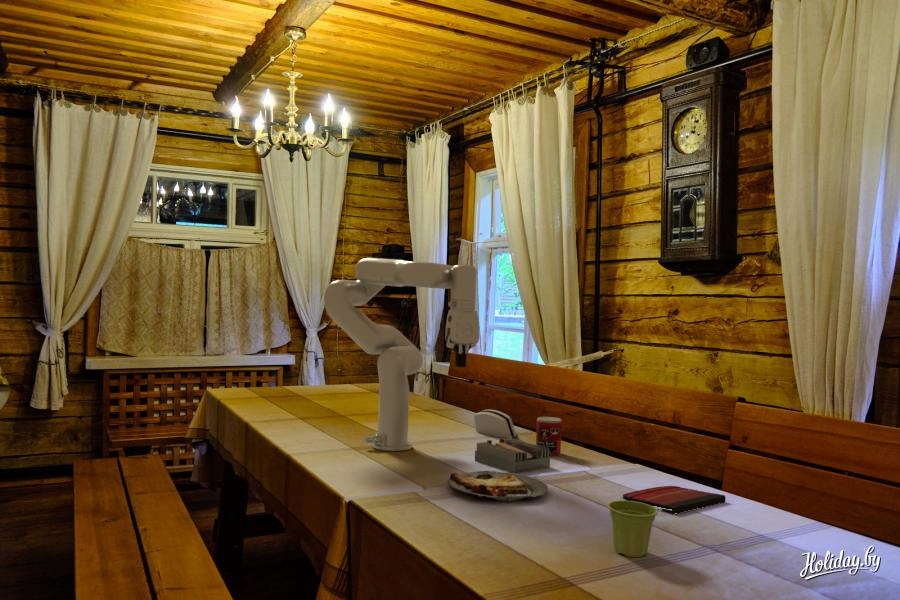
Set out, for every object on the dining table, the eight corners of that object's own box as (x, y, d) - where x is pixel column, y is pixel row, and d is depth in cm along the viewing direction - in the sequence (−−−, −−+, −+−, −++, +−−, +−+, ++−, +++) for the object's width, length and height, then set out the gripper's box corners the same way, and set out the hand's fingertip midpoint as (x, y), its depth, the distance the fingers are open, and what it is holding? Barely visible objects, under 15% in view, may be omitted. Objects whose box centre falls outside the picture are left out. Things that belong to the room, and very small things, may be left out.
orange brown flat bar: (523, 457, 200) (524, 455, 200) (495, 445, 209) (495, 443, 209) (530, 456, 202) (531, 454, 201) (502, 444, 211) (502, 442, 211)
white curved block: (519, 437, 245) (514, 411, 243) (510, 443, 242) (505, 417, 240) (485, 429, 257) (479, 404, 255) (476, 435, 254) (470, 410, 252)
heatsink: (514, 473, 194) (515, 452, 194) (474, 460, 208) (475, 441, 208) (549, 467, 203) (550, 447, 203) (509, 455, 216) (509, 436, 216)
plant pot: (647, 544, 141) (648, 501, 141) (662, 562, 132) (664, 515, 132) (600, 542, 141) (602, 499, 141) (613, 560, 132) (615, 514, 131)
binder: (726, 494, 174) (673, 507, 161) (726, 504, 174) (673, 517, 161) (671, 482, 187) (618, 493, 174) (671, 491, 187) (618, 502, 174)
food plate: (461, 505, 162) (462, 490, 162) (436, 480, 185) (437, 467, 185) (561, 504, 169) (562, 489, 169) (525, 480, 191) (526, 467, 191)
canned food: (532, 454, 220) (533, 419, 220) (540, 449, 227) (542, 415, 227) (555, 457, 216) (556, 421, 216) (563, 453, 223) (565, 418, 223)
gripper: (451, 305, 205) (448, 369, 205) (489, 307, 214) (487, 367, 214) (435, 305, 211) (433, 366, 211) (473, 306, 220) (471, 364, 220)
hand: (460, 366), depth 212 cm, fingers closed
